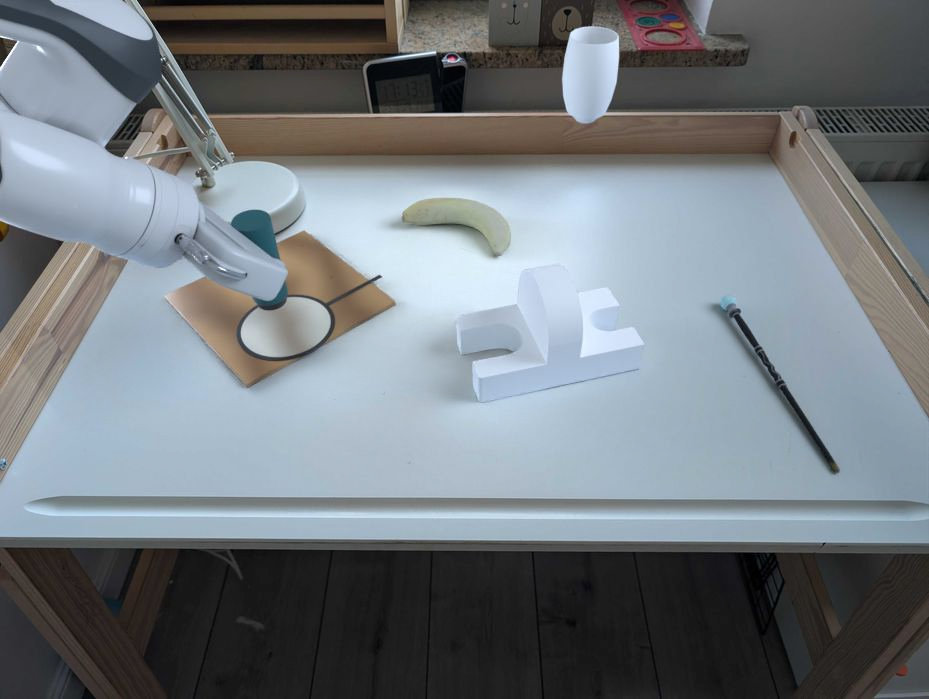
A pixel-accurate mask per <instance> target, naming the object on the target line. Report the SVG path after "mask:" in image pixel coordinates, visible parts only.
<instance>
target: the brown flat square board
mask: <svg viewBox="0 0 929 699" xmlns="http://www.w3.org/2000/svg"><path fill="white" fill-rule="evenodd" d="M276 243H277V247H278V251H279V255H280V260H281V261H282V262H284V263H285V268H286V269H287V271H288V275H287V277H286V279H285V281H286V285H287V289H288V294H287V301H286V303H285V304H284V305H283V306H282V307H281V308H279V309H276V310H271V311H267V310H262V309H260V308H259V307H258V306H257V303H256V302H254V301H253V298H252V296H249V295H246V294H243V293H240V292H237V291H235V290H232V289H229V288H226V287H224V286H222V285H219V284H217V283H215V282H213V281H212V280H210V279H208V278H207V277H205V276H203V277H200V278H199V279H196V280H194V281H192V282H190V283H188V284H186V285H184V286H181V287H179V288H177V289H175V290H173V291H170V292H168V293H166V294H164V295H163V296H164V297H163V298H164V299H165V300H166V302H167V303H168V304H169V305H170V306H171V307H172V308H173V309H174V311H176V312H177V313H178V314H179V315H180V316H181V318H182V319H183V320H184V321H185V322H186V323H187V324H188V325H189V326H190V328H191V329H192V330H193V331H194V332H195V333H196V334H197V335H198V336H199V337H200V338H201V340H202V341H203V342H204V343H205V344H206V345H207V347H209V348H210V349H211V350H212V351H213V352H214V354H215V355H216V356H217V357H218V358H219V359H220V360H221V362H222V363H224V364H225V366H227V368H228V369H229V370H230V371H231V372H232V373H233V375H235V377H236V378H237V379H238V380H239V381H240V382H241V383H242V384H243V385H244V386H245V387H246V388H247V389H249V388H251V387H252V386H254V385H255V384H257V383H259V382H261V381H263V380H264V379H267V378H268V377H270V376H272V375H274V374H275V373H277V372H278V371H280V370H282V369H284V368H286V367H288V366H289V365H291V364H293V363H295V362H297V361H298V360H300V359H302V358H304V357H305V356H307V355H309V354H311V353H313V352H315V351H316V350H318V349H319V348H322V347H323V346H325V345H327V344H328V343H330V342H332V341H334V340H336V339H337V338H339V337H341V336H343V335H344V334H346V333H348V332H350V331H352V330H353V329H356V327H359V326H361V325H363V324H364V323H366V322H367V321H369V320H372V319H374V318H375V317H376V316H378V315H380V314H382V313H384V312H386V311H388V310H389V309H392V308H393V307H394V306H396V300H395V299H393V298H392V297H391V296H389V295H388V294H386V292H384V291H383V290H382V289H381V288H379V287H378V286H376V284H374V282H376V281H377V280H380V279H381V278H383V275H380V274H378V275H376V276H374V277H372V278H371V279H367V278H366V277H365V276H364V275H363V274H361V273H359V272H358V271H357V270H356V269H355V268H353V267H352V266H351V265H349V263H347V262H346V261H345V260H343V259H342V258H341V257H340V256H338V255H337V254H336V253H334V252H333V251H332V250H330V249H329V248H327V247H326V246H325V245H324V244H322V243H321V242H320V241H319V240H317V239H316V238H315V237H314V236H312V235H311V234H310V233H308V232H307V231H306V230H302V231H299V232H297V233H295V234H294V235H290V236H288V237H287V238H284V239H282V240H280V241H278V242H276Z"/></svg>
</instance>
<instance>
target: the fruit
mask: <svg viewBox="0 0 929 699" xmlns="http://www.w3.org/2000/svg"><path fill="white" fill-rule="evenodd" d="M401 220H402V223H405V224H410V225H415V226H428V225H441V224H452V225H453V224H456V225H463V226H467V227H471V228H473V229H476V230H477V231H479V232H480V233H482V235H484V236H485V238H486V239H487V242H488V243H489V245H490V247H491V250H492V254H493V256H496V257H502V255H503V254H504V253H505V251H506V250H507V249H508V248H509V247H510V245H511V240H512V229H511V226H510V224H509V222H508V221H507V219H506V218H505V217H504V216H503V215H502V214H501V213H500V212H499V211H498V210H496V209H495V208H493V207H491V206H490V205H488V204H486V203H483V202H480V201H478V200H473V199H468V198H461V197H432V198H426V199H422V200H419V201H416V202H414V203H413V204H411V205H409V206H408V207H407V208H406V209H405V210H403V211H402V213H401Z"/></svg>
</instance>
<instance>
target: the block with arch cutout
mask: <svg viewBox="0 0 929 699" xmlns="http://www.w3.org/2000/svg"><path fill="white" fill-rule="evenodd" d="M516 299H517V300H516V304H509V305H505V306H500V307H495V308H489V309H485V310H479V311H474V312H473V311H472V312H469V313H463V314H459V315H457V316H456V319H455V321H456V322H455V324H456V345H457V348H458V351H459V353H460V356H465V355H469V354H475V353H480V352H485V351H489V350H494V349H502V350H503V349H504V350H507V351H510V352H511V353H508V354H503V355H498V356H493V357H488V358H484V359H483V358H482V359H478V360H473V361H471V362H472V388H473V391H474V394H475V396H476V398H477V402H479V403H487V402H492V401H496V400H501V399H505V398H510V397H515V396H519V395H524V394H528V393H529V394H530V393H534V392H538V391H542V390H547V389H550V388H555V387H560V386H565V385H570V384H574V383H579V382H583V381H588V380H594V379H598V378H603V377H608V376H613V375H616V374H621V373H626V372H631V371H635V370H640V368H641V364H642V359H643V356H644V350H645V345H646V344H645V342H644V341H643V339H642V338H641V336H640V334H639V333H638V331H637V330H636V328H635V327H634V326H630V327H624V328H619V329H617V322H618V316H619V311H620V304H619V302H618V301H617V299H616V297H615V296H614V294H613V293H612V291H611V290H610V288H609V287H608V286H606V287H600V288H595V289H590V290H585V291H580V292H578V290H577V287H576V284H575V281H574V279H573V277H572V276H571V273H570V271H569V270H568V269H567V268H566V266H565V265H563V264H562V263H554V264H547V265H542V266H536V267H531V268H525V269H523V270H522V271H521V272H520V274H519V278H518V284H517V298H516Z"/></svg>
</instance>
